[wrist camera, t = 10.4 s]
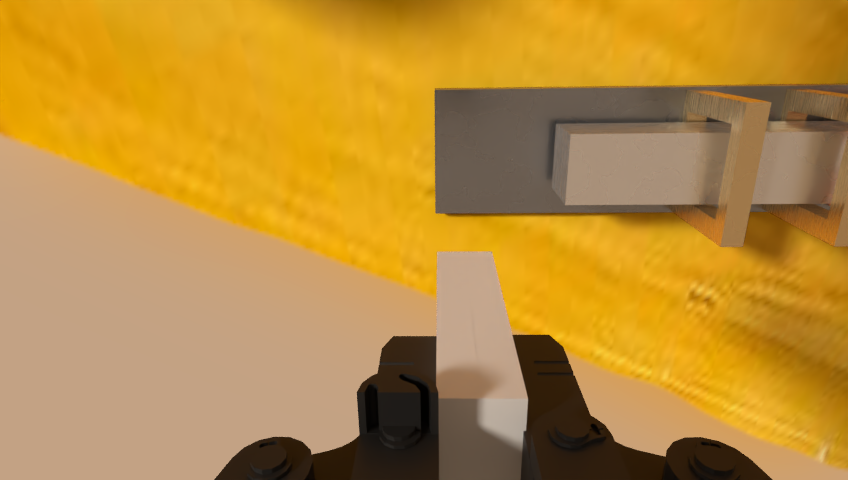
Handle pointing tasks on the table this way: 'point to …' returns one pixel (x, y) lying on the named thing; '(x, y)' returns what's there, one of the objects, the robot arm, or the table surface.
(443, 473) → the robot arm
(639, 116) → the rail
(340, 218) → the table surface
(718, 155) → the pale grey bar
